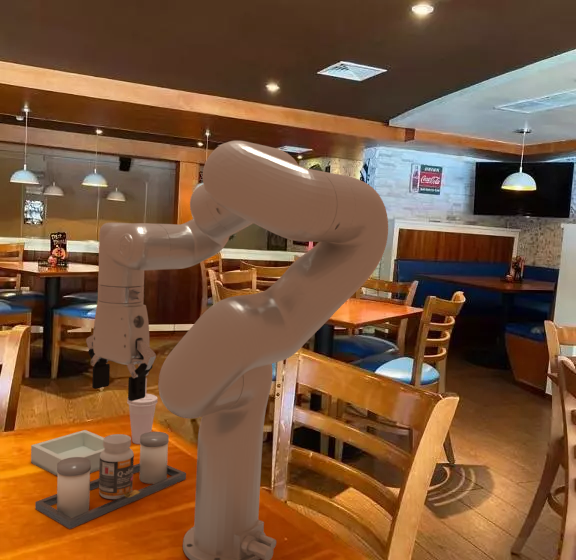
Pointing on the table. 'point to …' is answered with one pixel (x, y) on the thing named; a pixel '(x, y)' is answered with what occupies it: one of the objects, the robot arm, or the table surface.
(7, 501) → the table surface
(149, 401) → the smoothie
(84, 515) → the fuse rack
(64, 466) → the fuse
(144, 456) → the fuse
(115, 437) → the pill bottle
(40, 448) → the tray
